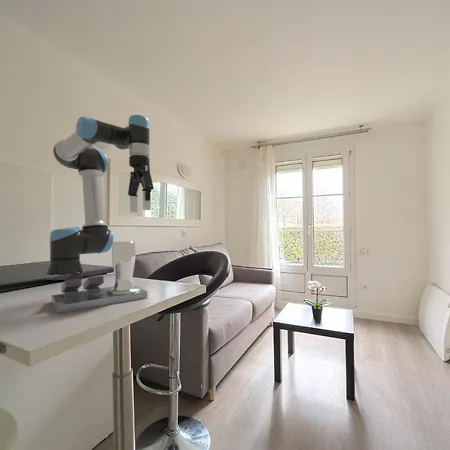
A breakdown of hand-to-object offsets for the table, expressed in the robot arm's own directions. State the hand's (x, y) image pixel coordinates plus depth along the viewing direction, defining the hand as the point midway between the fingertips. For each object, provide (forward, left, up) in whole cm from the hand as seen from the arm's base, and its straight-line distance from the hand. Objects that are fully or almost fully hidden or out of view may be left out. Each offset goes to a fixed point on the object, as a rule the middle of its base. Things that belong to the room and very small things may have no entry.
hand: (140, 211), depth 103 cm
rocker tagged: (+10, -25, -24) cm, 36 cm away
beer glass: (+15, -11, -26) cm, 32 cm away
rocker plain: (+10, -19, -24) cm, 32 cm away
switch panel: (+13, -18, -29) cm, 36 cm away
